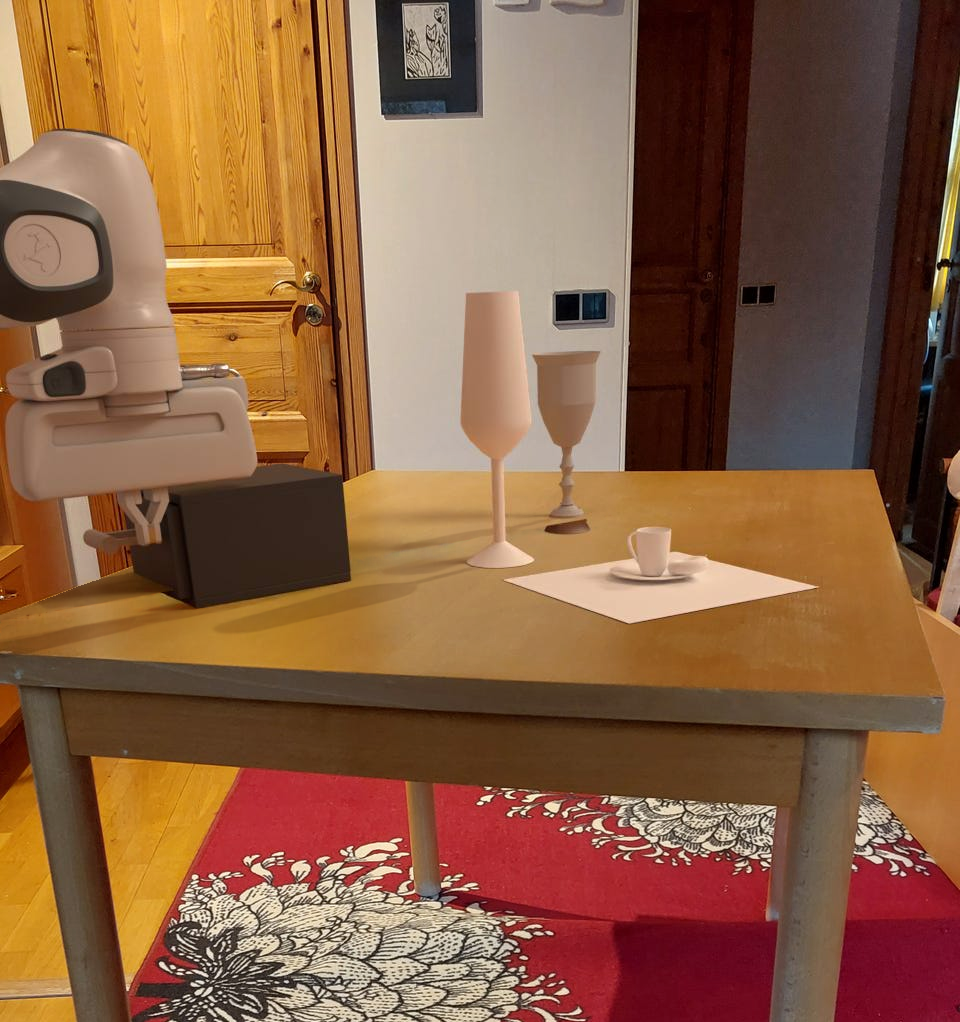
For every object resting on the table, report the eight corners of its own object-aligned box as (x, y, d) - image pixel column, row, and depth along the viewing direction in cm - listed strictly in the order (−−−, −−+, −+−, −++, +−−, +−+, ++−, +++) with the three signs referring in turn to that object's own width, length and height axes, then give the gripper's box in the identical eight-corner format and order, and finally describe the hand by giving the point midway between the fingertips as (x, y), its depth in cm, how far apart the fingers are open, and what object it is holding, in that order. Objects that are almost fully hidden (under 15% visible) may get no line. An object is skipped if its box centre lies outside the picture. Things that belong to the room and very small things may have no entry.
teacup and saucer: (721, 578, 105) (723, 531, 103) (649, 591, 101) (650, 543, 100) (662, 562, 112) (663, 518, 110) (592, 573, 108) (592, 529, 107)
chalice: (580, 521, 133) (580, 350, 126) (611, 530, 128) (613, 351, 120) (523, 528, 131) (520, 354, 123) (552, 538, 125) (550, 355, 117)
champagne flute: (541, 554, 118) (537, 290, 107) (523, 568, 112) (517, 290, 101) (478, 552, 119) (468, 293, 109) (457, 566, 114) (444, 294, 103)
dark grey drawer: (123, 609, 99) (107, 515, 96) (82, 588, 107) (66, 501, 104) (326, 573, 109) (317, 487, 106) (274, 556, 117) (265, 476, 114)
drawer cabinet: (196, 608, 102) (179, 495, 98) (146, 586, 111) (129, 481, 107) (351, 580, 110) (342, 474, 106) (293, 561, 119) (282, 463, 115)
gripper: (228, 361, 101) (247, 524, 107) (-16, 375, 91) (20, 555, 97) (259, 362, 97) (277, 532, 103) (6, 377, 86) (42, 566, 92)
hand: (150, 544), depth 100 cm, fingers closed, pressing on dark grey drawer
